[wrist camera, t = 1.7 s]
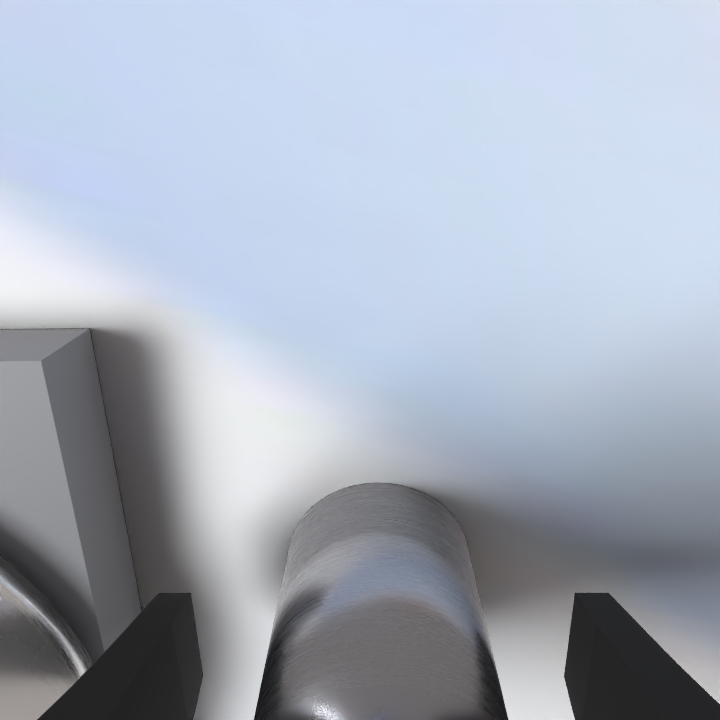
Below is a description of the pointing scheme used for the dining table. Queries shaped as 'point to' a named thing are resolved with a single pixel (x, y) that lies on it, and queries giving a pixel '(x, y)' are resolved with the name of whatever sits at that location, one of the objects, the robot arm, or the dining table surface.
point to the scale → (63, 484)
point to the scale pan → (34, 649)
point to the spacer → (379, 616)
